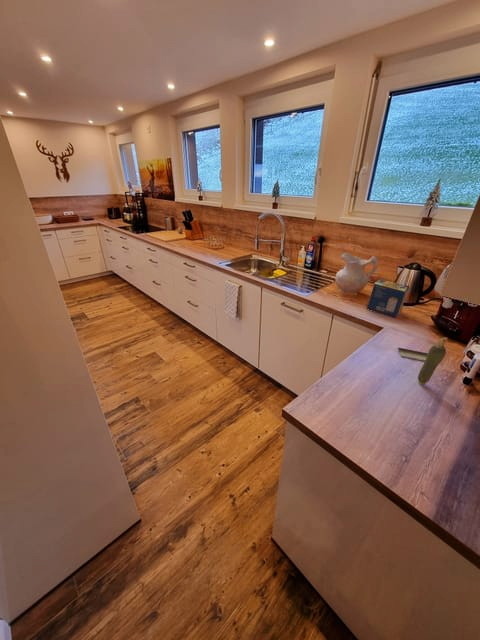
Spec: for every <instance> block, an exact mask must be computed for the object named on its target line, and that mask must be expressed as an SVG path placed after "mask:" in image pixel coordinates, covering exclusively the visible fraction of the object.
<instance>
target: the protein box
mask: <svg viewBox="0 0 480 640" xmlns="http://www.w3.org/2000/svg"><path fill="white" fill-rule="evenodd" d="M409 289H410V285H407V284H402V283H397V282H393V281H390V280H386V279H381V278H380V279H378V280H377V281H375V282H374V283H373V286H372V290H371V292H370V296H369V300H368V303H367V305H366V310H367V309H369V310H368V311H370V310H372V311H371V312H374V311H375V312H374V313H377V312H378V313H377V314H380V313H381V315H383V314H384V315H383V316H386V315H387V317H390V318H393V319H396V318H397V317H398V316H399V315H400V314H401V311H402V309H403V306H404V303H405V300H406V298H407V295H408V292H409Z"/></svg>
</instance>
